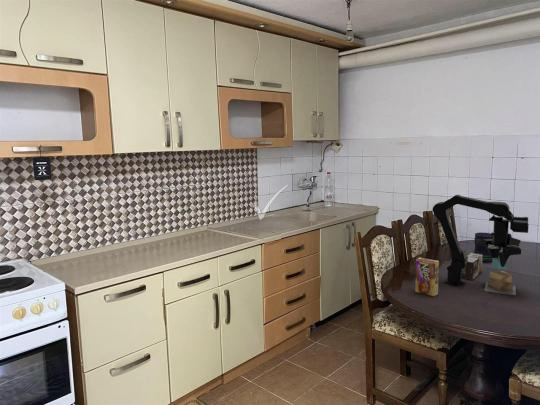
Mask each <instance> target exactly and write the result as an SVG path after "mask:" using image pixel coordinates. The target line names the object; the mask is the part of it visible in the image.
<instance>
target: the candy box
mask: <svg viewBox="0 0 540 405" xmlns="http://www.w3.org/2000/svg"><path fill="white" fill-rule="evenodd" d="M439 266H440V261H439V260H437V259H436V260H435V259H430V258H423V257H417V258H416V259H415V288H414V290H415V293H417V294H418V293H419V294H423V295H426V296H427V295H428V296H432V297H436V296H437V295H438V294H439V274H440V272H439V271H440V267H439Z"/></svg>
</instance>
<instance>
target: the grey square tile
mask: <svg viewBox="0 0 540 405" xmlns="http://www.w3.org/2000/svg"><path fill="white" fill-rule="evenodd" d="M516 289H517V288H516V285H513V290H509V291H497V290H495V289H493V288H491V287H488V281H485V285H484V289H483V290H484V292H488V293H496V294H502V295H509V296H516V295H517V291H516Z"/></svg>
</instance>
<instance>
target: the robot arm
mask: <svg viewBox="0 0 540 405" xmlns="http://www.w3.org/2000/svg"><path fill="white" fill-rule="evenodd" d="M456 205H460V206H463V207H468V208H472V209H477V210H481V211H485V212H487V213H489V214H492V216H491V217H489V219H488V221H489V222H493V230H492V231H493V232H491V235H493V239H483V240H482V241H481V245H482V246H484V247H485V246H487V245H488V248H486V249H487V250H488V251H489V253H490V255H491V257H492V259H493V258H500V263H501V266H502V267H504V266H505V264H506V262H507V263H508V260H509V257H510V256H516V255H522V248H520V243H521V239H518V238H515V237H512V234H511V233H510V232H509V230H511V231H512V232H513V233H521V234H522V233H524V234H529V225H530V224H529V216H515V215H514V214H513V213H512V211H511V210H510V205H509V204H508V203H507V202H504V201H503V202H502V201H486V200H481V199H478V198H473V197H468V196H462V195H461V194H454V196H451V197H450V198H449V199H447V200H445V201H440V202H437V203H436V204H434V205H433V206H432V209H431V210H432V213H433V214H434V217H435V218H436V219H437V220H438V222H439V223H440V226H441V228H442V231H443V233H444V236H445V238H446V242H447V244H448V247H449V250H450V259H451V261H450V262H449V264H448V265H447V267H446V270H447V276H446V277H447V278H446V280H444V283H447V284H450V285H452V286H456V287H457V286H459V285H463V284H466V282H465V281H463V278H462V270H461V269H463V268H464V267H465V266H466V264H467V262H468V256H467V255H468V254H467V251H466V249H465V250H463V249H462V248H461V247H460V245H459V242H458V238H457V237H456V234H455V231H454V228H453V226H452V223H451V220H450V212H449V211H450V210H449V209H450V208H453V207H454V206H456Z"/></svg>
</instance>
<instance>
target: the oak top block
mask: <svg viewBox="0 0 540 405" xmlns="http://www.w3.org/2000/svg"><path fill="white" fill-rule="evenodd" d="M512 278H513V275H512V274H511V273H509V272H506V271H504V270H496V271H495V270H494V271H493V270H492V271H490V272H489V279H491V280H493V281H495V282H497V283H509V282H513V281H512Z"/></svg>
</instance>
